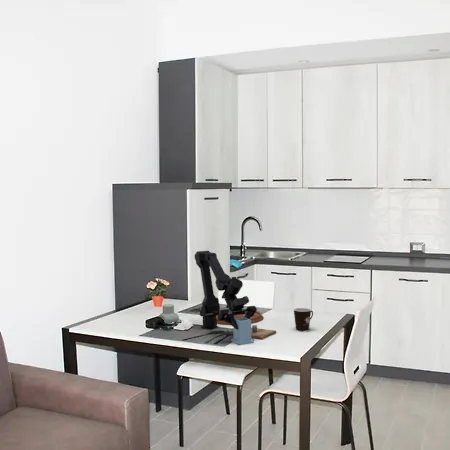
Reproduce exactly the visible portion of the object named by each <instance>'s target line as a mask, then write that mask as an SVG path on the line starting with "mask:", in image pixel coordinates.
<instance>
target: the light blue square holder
mask: <svg viewBox="0 0 450 450" xmlns="http://www.w3.org/2000/svg"><path fill="white" fill-rule="evenodd" d="M235 321H236V323H237V326H238V330H237V329H235V328H234V327H233V333H234V336H233V338H231V340H230V341H231V342H232V343H235V344H237V345H239V346H241V345H248V344H253V343H255V341H254V339H252V338H251V328H252V324H251V320H250V319H247V318H237V319H235Z"/></svg>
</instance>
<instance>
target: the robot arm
mask: <svg viewBox="0 0 450 450" xmlns="http://www.w3.org/2000/svg"><path fill="white" fill-rule="evenodd" d="M194 260H195V264H196V266H197V267H198V268H199V269H200V277H201V282H202V288H203V295H204V297H203V300H202V303H201V305H202V306H201V308H200V310H199V316H200V317H202V326H200V328H202V329H207V330H213V329H215V328H218V327H219V325H218V324H217V318H216V315H218V320H219V321H225V322H227V323H229V324H230V325H229V326H231V327H233V329H234V328H235V329H237V330H238V326H237V323H236V321H235V319H234V315H242V314H243V315H244V318H247V319H250V317H252V316H254V314H255V312H256V311H258V308H257V307H256V305H249V306H246V305H248V304H249V303H250V299H249V297H248V295H245V296H242V297H238V296H237V295H238V294H240V293H239V292H240V291H241V289H242V288H243V286H244V285H243V284H244V283H243V281H242V280H241V279H239V278H237V276H232V277H231V276H229V275H228V274H227V273H226V272H225V270H224V269H223V267H222V265H221V263H220V262H219V259H218V257H217V253H216V252H211V251H210V250H201V251H196V253H195V254H194ZM211 271H212V273H213V276H214V277H215V283H214V284H215V286H216V289H217V290H218V291H220V292H222V291H223V292H222V294H221V299H224V302H225V303H226V306H225V307H226V308H225V309H224V308H223V310H222V309H221V306H220V301H219V298H218V297H216V296H215V294H214V287H213V281H212V273H211ZM245 306H246V308H245ZM242 309H246V310H242ZM219 310H221V311H220V312H219Z"/></svg>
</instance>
